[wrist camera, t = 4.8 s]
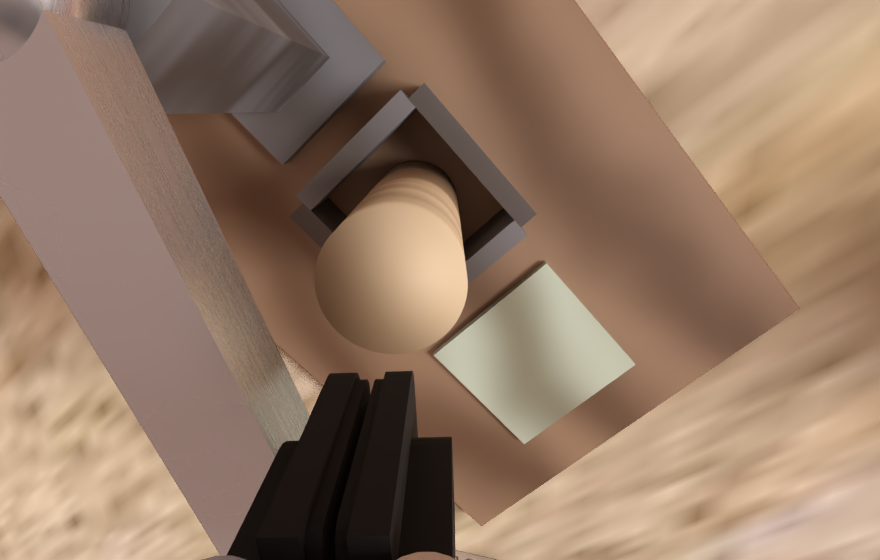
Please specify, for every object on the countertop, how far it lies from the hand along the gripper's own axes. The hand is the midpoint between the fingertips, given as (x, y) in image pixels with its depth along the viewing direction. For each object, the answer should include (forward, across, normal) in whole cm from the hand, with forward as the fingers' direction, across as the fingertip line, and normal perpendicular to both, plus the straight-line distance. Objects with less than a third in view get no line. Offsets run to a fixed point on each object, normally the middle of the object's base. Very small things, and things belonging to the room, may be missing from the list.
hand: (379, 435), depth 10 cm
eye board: (+15, -1, -1) cm, 15 cm away
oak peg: (+13, 0, -2) cm, 14 cm away
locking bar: (+1, +3, -2) cm, 4 cm away
